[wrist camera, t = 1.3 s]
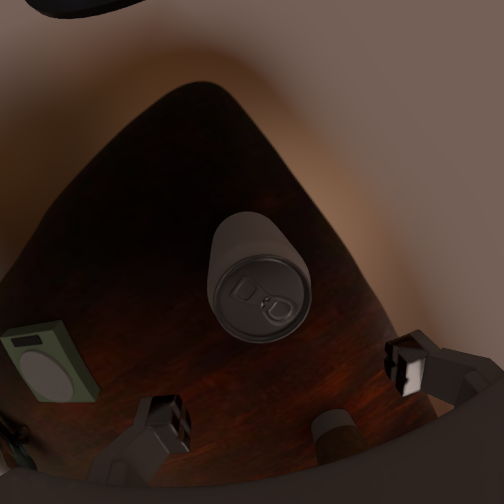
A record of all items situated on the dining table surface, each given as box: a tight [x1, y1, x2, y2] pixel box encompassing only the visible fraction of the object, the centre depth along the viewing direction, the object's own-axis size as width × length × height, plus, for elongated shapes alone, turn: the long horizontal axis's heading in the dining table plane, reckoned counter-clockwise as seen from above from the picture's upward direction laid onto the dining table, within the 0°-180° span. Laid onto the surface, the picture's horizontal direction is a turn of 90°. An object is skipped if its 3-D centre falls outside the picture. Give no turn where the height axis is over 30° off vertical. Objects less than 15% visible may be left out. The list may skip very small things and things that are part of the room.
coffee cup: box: [311, 409, 371, 466], centre depth 30 cm, size 8×8×15 cm
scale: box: [0, 320, 100, 402], centre depth 28 cm, size 11×11×3 cm
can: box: [207, 212, 312, 343], centre depth 22 cm, size 6×6×12 cm
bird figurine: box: [0, 422, 38, 471], centre depth 29 cm, size 13×10×20 cm
